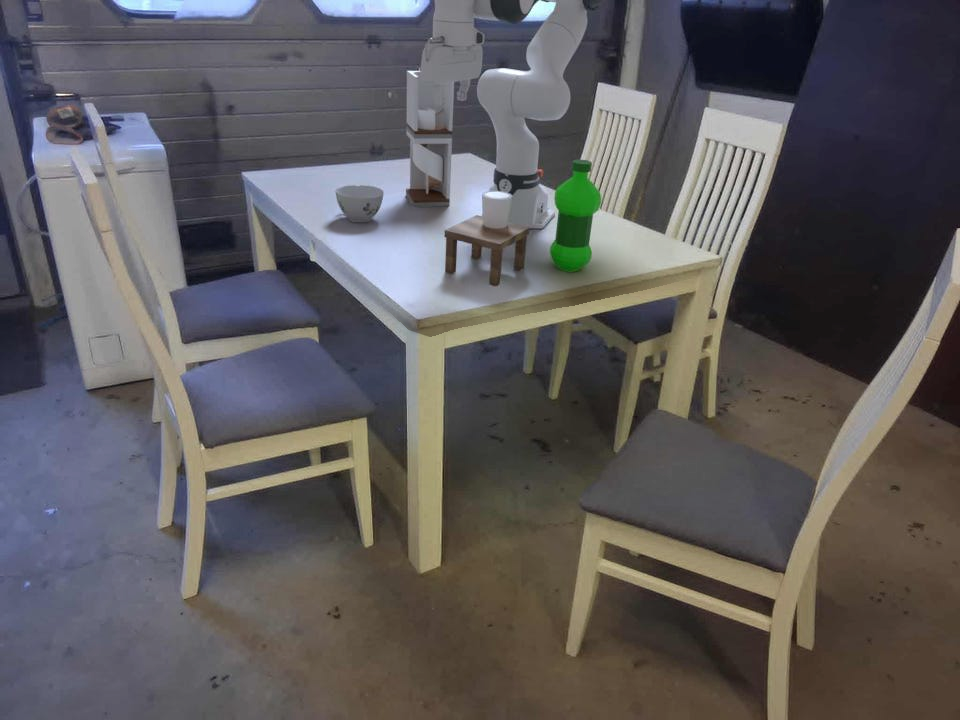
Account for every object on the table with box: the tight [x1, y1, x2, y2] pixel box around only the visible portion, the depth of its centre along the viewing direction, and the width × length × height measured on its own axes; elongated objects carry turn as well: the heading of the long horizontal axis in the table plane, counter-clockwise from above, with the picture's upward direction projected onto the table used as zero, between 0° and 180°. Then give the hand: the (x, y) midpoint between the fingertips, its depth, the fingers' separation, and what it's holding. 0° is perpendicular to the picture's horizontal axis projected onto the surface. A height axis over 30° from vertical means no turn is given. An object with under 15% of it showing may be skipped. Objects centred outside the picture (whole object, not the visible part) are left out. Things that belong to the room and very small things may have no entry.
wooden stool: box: [444, 214, 530, 287], centre depth 162 cm, size 14×14×10 cm
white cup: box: [481, 190, 512, 229], centre depth 161 cm, size 7×7×7 cm
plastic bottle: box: [549, 159, 602, 273], centre depth 163 cm, size 10×10×25 cm
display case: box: [405, 70, 455, 208], centre depth 201 cm, size 11×11×35 cm
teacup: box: [335, 184, 385, 223], centre depth 190 cm, size 15×12×8 cm
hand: (450, 102), depth 160 cm, fingers open, 8 cm apart
